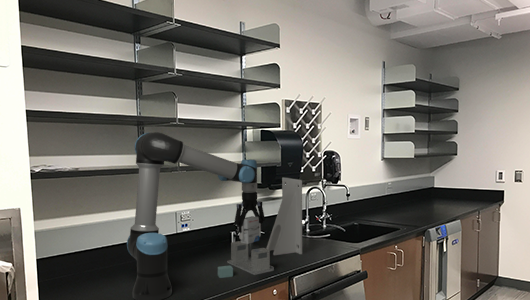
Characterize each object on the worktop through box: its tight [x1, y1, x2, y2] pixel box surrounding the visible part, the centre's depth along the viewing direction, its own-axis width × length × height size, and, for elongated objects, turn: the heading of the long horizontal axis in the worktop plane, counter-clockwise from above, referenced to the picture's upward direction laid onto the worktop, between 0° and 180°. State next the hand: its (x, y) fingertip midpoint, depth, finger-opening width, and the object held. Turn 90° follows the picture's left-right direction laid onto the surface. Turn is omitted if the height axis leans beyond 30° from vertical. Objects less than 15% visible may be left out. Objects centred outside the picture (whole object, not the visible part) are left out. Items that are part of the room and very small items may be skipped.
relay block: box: [217, 264, 234, 279], centre depth 189 cm, size 6×4×4 cm, turn 111°
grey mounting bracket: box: [265, 177, 303, 256], centre depth 230 cm, size 20×14×40 cm
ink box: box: [240, 215, 260, 245], centre depth 202 cm, size 8×5×12 cm, turn 141°
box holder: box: [226, 240, 275, 276], centre depth 203 cm, size 11×24×10 cm, turn 36°
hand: (250, 237), depth 202 cm, fingers closed on ink box, 9 cm apart
